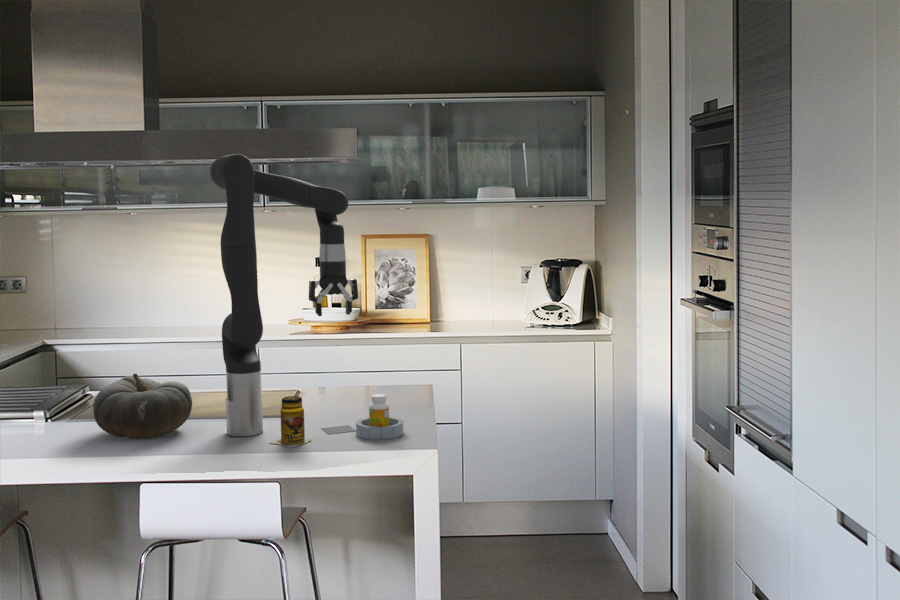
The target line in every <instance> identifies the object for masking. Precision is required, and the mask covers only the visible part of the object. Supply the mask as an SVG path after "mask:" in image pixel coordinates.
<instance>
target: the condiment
mask: <svg viewBox="0 0 900 600" xmlns="http://www.w3.org/2000/svg"><path fill="white" fill-rule="evenodd" d="M280 435H281V437H280V439H277V440H274V441H270V444H274V445H280V446H282V447H283V446H284V447H291V448H292V447H293V448H295V447H299V446H302V445H304V444H306V443H308V442H310V441H312V439H306V437H305V436H306V435H305V410H304V407H303V398H302V397H301V396H297V395H290V396H285V397H282V398H281V408H280Z"/></svg>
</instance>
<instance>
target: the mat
mask: <svg viewBox="0 0 900 600" xmlns="http://www.w3.org/2000/svg"><path fill="white" fill-rule="evenodd" d="M320 429H321V430H322V431H323V432H324V433H325V434H327V435H335V434H345V433H346V434H347V433H351V432H352V433H353V432H354V433H355V432H356V428H353V427H352V426H350V425H337V426H331V427H330V426H329V427H322V428H320Z"/></svg>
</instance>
